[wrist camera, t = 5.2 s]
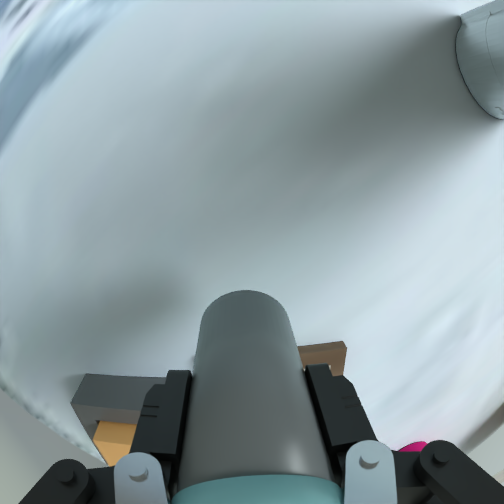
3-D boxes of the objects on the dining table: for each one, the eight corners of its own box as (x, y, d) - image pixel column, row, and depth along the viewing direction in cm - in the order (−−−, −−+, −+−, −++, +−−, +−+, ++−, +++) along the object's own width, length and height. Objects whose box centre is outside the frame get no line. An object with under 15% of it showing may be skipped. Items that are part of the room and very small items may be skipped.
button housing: (86, 373, 23) (70, 403, 19) (182, 377, 23) (175, 412, 20) (116, 436, 26) (107, 464, 22) (198, 441, 26) (196, 472, 22)
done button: (105, 406, 22) (92, 439, 18) (160, 410, 22) (151, 446, 18) (123, 441, 23) (113, 472, 20) (172, 444, 24) (167, 478, 20)
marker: (193, 290, 13) (141, 528, 3) (293, 285, 13) (378, 514, 4) (203, 367, 14) (186, 567, 5) (290, 362, 14) (335, 558, 5)
